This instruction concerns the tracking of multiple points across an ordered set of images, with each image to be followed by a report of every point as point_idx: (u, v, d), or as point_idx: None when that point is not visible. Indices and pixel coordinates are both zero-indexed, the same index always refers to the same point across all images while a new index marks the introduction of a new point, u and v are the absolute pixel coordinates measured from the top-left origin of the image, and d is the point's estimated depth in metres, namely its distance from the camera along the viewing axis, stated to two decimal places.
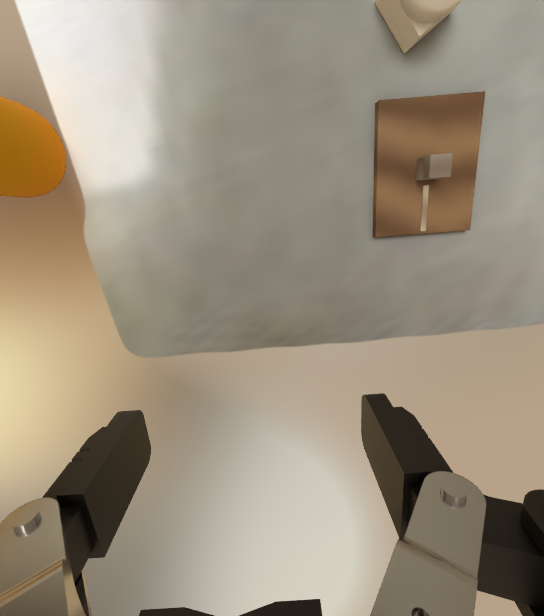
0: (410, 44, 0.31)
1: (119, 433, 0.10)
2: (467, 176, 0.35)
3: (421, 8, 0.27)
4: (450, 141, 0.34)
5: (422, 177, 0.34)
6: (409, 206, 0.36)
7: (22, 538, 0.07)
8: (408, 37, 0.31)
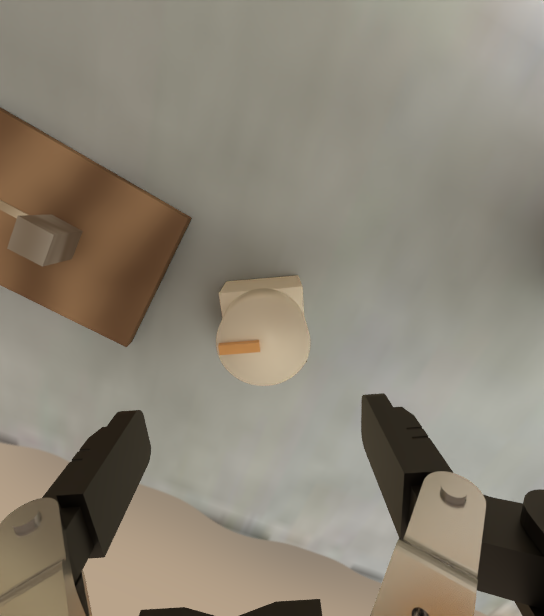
0: (225, 286, 0.22)
1: (119, 433, 0.10)
2: (26, 285, 0.23)
3: (239, 302, 0.19)
4: (85, 284, 0.23)
5: (39, 216, 0.20)
6: (14, 184, 0.21)
7: (22, 538, 0.07)
8: (232, 286, 0.22)
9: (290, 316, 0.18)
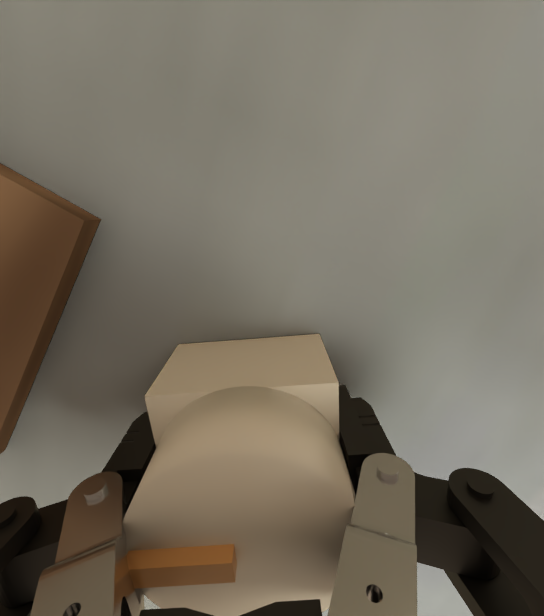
0: (168, 365, 0.11)
1: None
2: None
3: (182, 442, 0.07)
4: None
5: None
6: None
7: (95, 505, 0.07)
8: (184, 368, 0.10)
9: (317, 493, 0.07)
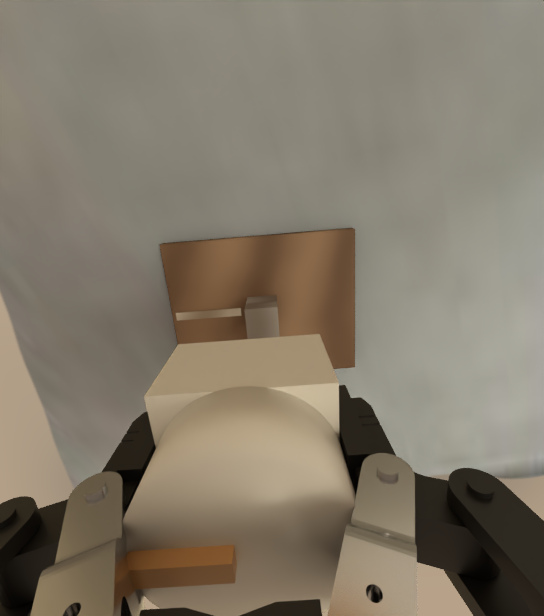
0: (168, 365, 0.11)
1: None
2: None
3: (182, 443, 0.07)
4: None
5: (248, 302, 0.23)
6: (210, 292, 0.24)
7: (95, 505, 0.07)
8: (183, 368, 0.10)
9: (317, 494, 0.07)
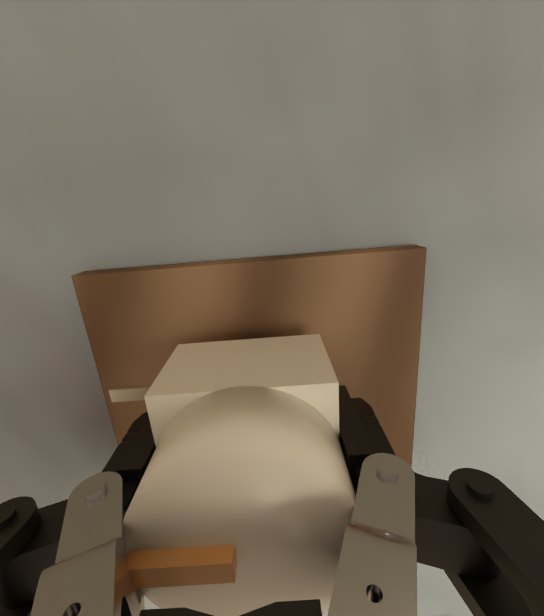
0: (168, 365, 0.11)
1: None
2: None
3: (182, 443, 0.07)
4: None
5: None
6: (167, 356, 0.14)
7: (95, 505, 0.07)
8: (183, 368, 0.10)
9: (317, 493, 0.07)
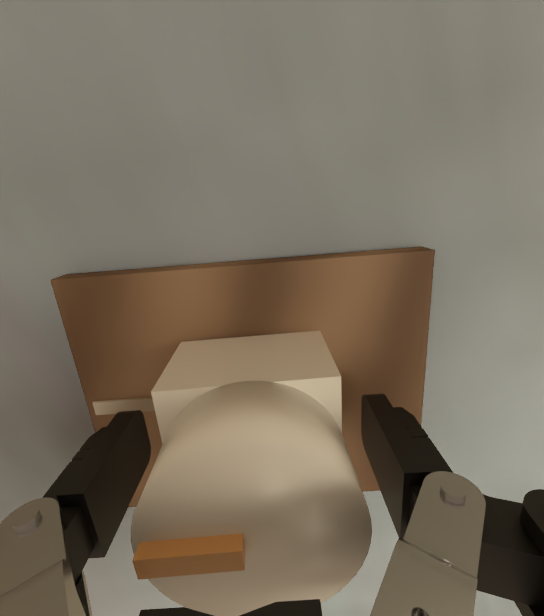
0: (173, 362, 0.11)
1: (119, 433, 0.10)
2: None
3: (191, 435, 0.07)
4: None
5: None
6: (155, 366, 0.13)
7: (22, 538, 0.07)
8: (188, 364, 0.10)
9: (324, 482, 0.07)
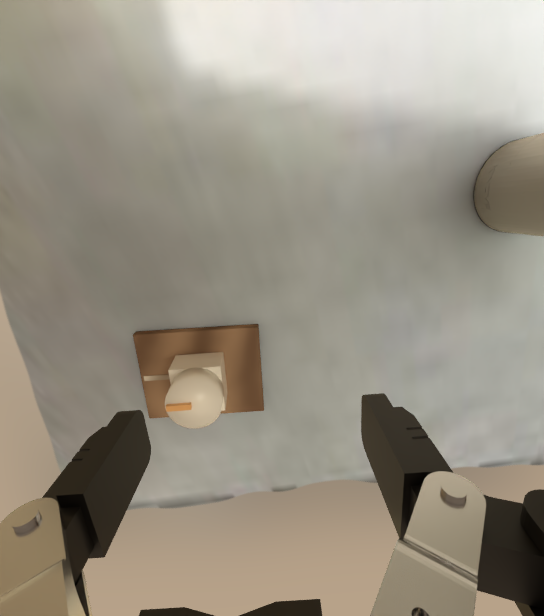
0: (173, 362, 0.35)
1: (119, 433, 0.10)
2: None
3: (179, 379, 0.32)
4: None
5: None
6: (166, 363, 0.37)
7: (22, 538, 0.07)
8: (178, 363, 0.35)
9: (209, 389, 0.31)
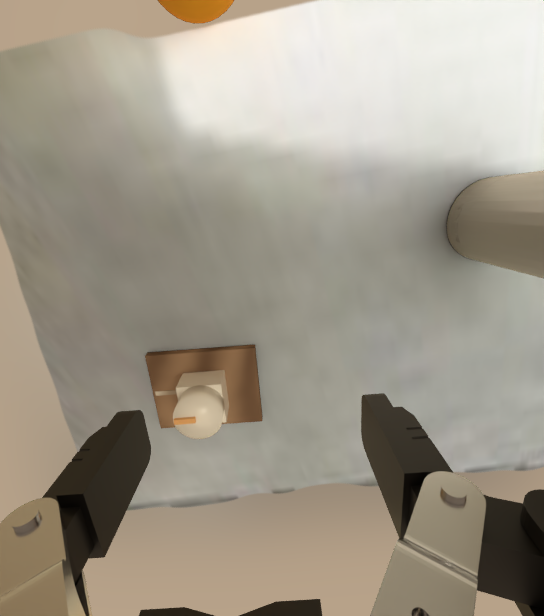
0: (180, 380, 0.40)
1: (119, 433, 0.10)
2: None
3: (185, 396, 0.36)
4: None
5: None
6: (174, 380, 0.42)
7: (22, 538, 0.07)
8: (184, 380, 0.39)
9: (210, 405, 0.36)
